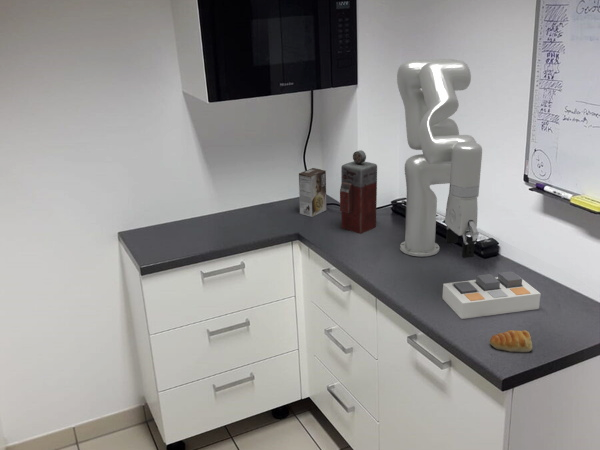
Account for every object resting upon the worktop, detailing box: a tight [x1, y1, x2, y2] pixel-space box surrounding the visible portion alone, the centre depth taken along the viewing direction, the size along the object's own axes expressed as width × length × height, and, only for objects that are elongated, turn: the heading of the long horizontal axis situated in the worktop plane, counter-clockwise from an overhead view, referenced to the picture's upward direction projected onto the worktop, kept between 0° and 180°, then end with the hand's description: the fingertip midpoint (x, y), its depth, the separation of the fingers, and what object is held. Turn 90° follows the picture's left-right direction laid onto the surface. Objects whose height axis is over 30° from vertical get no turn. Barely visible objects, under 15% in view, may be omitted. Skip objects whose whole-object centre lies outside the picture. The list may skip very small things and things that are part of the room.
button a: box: [454, 280, 477, 294], centre depth 174 cm, size 5×4×4 cm
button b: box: [475, 273, 500, 291], centre depth 175 cm, size 5×4×4 cm
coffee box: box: [298, 167, 327, 218], centre depth 244 cm, size 9×6×16 cm
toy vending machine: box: [339, 149, 378, 235], centre depth 225 cm, size 9×11×28 cm
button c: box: [497, 271, 523, 288], centre depth 176 cm, size 5×4×4 cm
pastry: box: [489, 329, 533, 353], centre depth 154 cm, size 9×7×4 cm
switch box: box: [442, 276, 542, 320], centre depth 174 cm, size 12×22×5 cm, turn 102°
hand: (459, 249), depth 175 cm, fingers open, 9 cm apart
